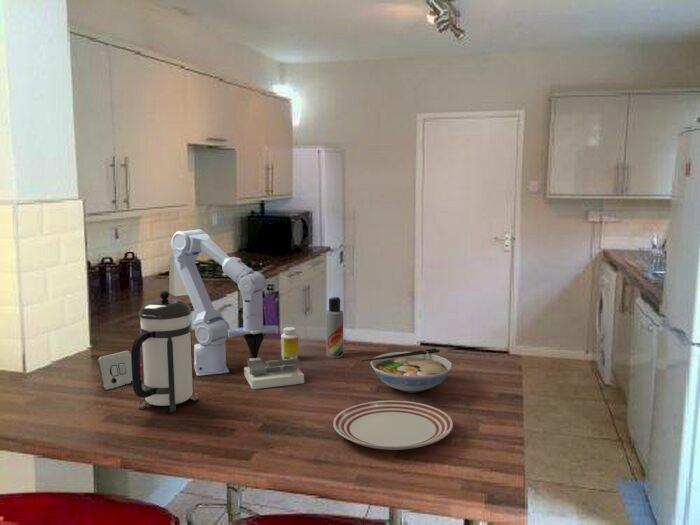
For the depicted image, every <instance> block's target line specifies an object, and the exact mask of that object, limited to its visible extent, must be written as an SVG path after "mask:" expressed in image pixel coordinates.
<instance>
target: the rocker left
mask: <svg viewBox="0 0 700 525" xmlns="http://www.w3.org/2000/svg"><path fill="white" fill-rule="evenodd" d="M247 367H249V368H250V371H251V374H252V375H258V374H266V368H265V366H264V361H263V359H262V357H257V358H251V357H250V358H247Z"/></svg>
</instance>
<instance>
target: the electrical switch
mask: <svg viewBox="0 0 700 525" xmlns="http://www.w3.org/2000/svg"><path fill="white" fill-rule="evenodd" d="M131 353H132V352H131V351H129V350H124V351H119V352H116V353H113V354H108V355H107V354H106V355H103V356H99V358H98V359H97V360H96V363H97V370H98V375H99V379H100V383H101V384H100V385H101V387H102V388H103V389H104V390H110V389H115V388H119V387H121V386H125V384H126V385H129V384H132V383H131V381H132V361H131Z"/></svg>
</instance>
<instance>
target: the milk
mask: <svg viewBox="0 0 700 525" xmlns="http://www.w3.org/2000/svg"><path fill="white" fill-rule="evenodd" d="M168 263H169V264H168V266H169V268H168V270H169V272H168V274H169V275H168V276H169V284H168V286H169V288H168V290H169V292H168V293H169V294H171V295H172V296H174V297H178V296H180V297H183V296H189V295H188V293H187V291H186V288H185V286H184V283H183V281H182V279H181V276H180V274H179V271H178V269H177V267H176V264H175V257H174V252H173V253H172V255H170V257H169V260H168Z"/></svg>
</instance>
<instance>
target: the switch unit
mask: <svg viewBox="0 0 700 525" xmlns="http://www.w3.org/2000/svg"><path fill="white" fill-rule="evenodd" d="M297 365H298V364H295V365H283V366H277V367H265V368H266V374H258V375H252V374H251V371H250V368H249V366H244V367H243V371H244V372H243V375H244V377H245V379H246V380H247V382H248V385H249V386H250V388H251V389H252V390H258V389H265V388H267V389H268V388H275V387H284V386H291V385H292V386H293V385H299V384H305V373H303V372H302V371H301V370H300V368H299V367H298V366H297Z"/></svg>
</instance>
